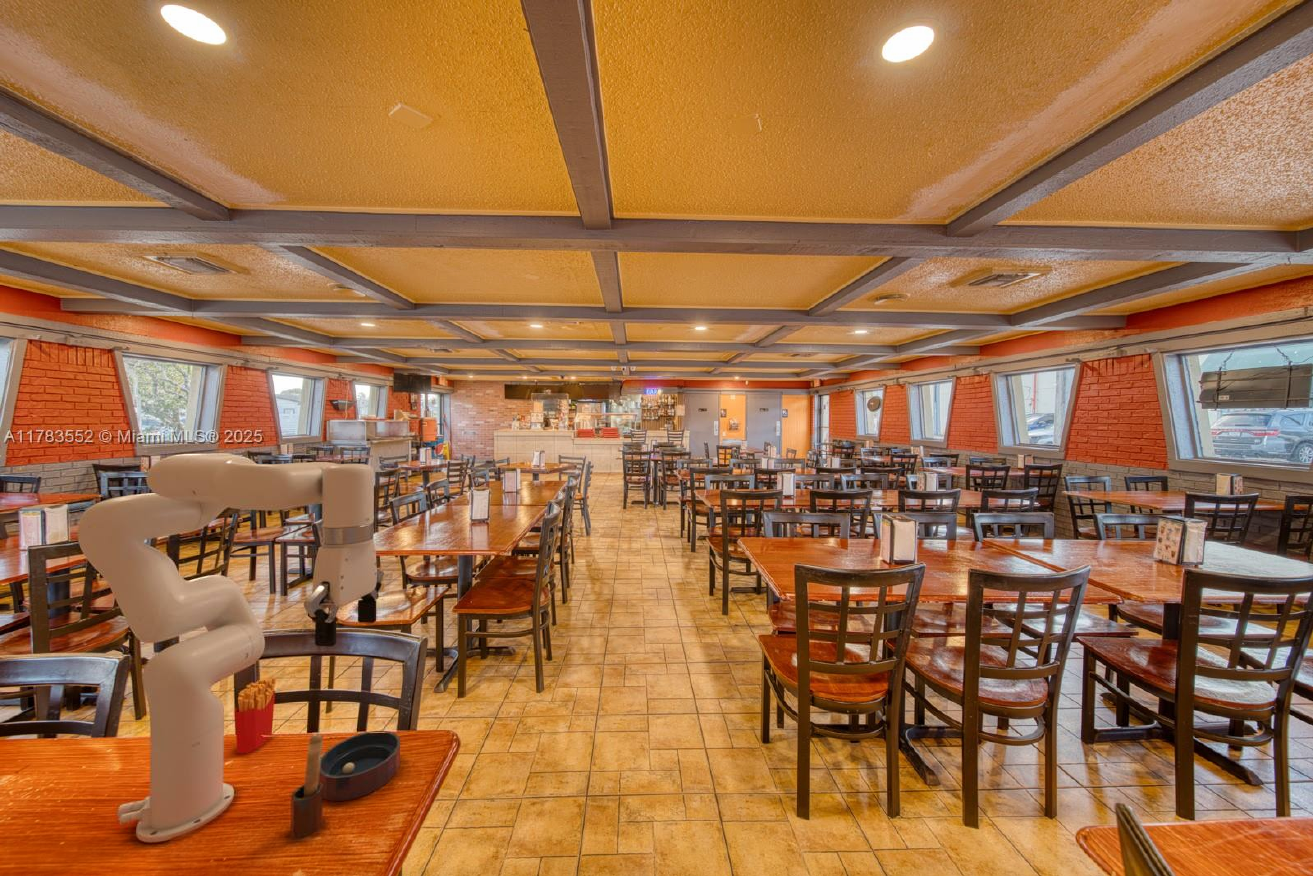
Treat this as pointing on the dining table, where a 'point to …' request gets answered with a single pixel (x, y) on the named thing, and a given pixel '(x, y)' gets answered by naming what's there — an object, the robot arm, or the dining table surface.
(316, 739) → the stick
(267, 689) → the french fries
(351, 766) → the dough ball
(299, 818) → the holder
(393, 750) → the bowl
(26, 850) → the dining table surface
